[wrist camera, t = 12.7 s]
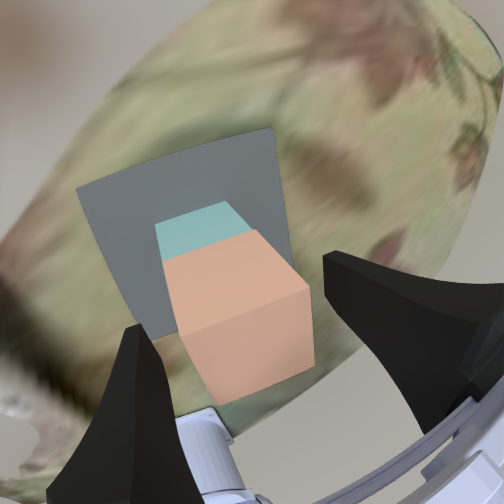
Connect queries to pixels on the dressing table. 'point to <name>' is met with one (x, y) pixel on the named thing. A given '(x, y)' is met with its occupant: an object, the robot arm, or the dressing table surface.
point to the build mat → (181, 212)
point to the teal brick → (198, 229)
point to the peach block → (241, 315)
